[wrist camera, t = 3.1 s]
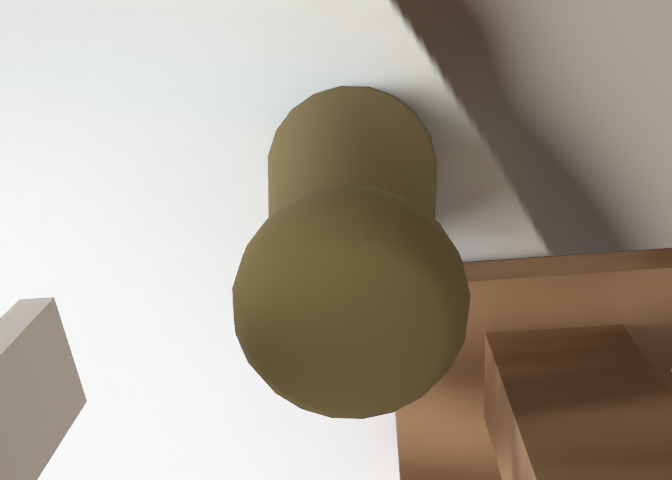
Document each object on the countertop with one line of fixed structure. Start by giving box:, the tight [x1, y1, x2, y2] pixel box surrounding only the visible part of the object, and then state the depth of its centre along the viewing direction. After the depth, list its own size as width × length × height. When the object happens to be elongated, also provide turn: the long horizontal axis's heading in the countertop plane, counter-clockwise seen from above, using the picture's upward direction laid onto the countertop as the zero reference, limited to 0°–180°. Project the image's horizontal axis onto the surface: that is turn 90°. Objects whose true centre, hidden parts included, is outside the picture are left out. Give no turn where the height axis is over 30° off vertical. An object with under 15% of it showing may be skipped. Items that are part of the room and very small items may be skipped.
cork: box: [232, 86, 471, 419], centre depth 17 cm, size 6×6×11 cm
